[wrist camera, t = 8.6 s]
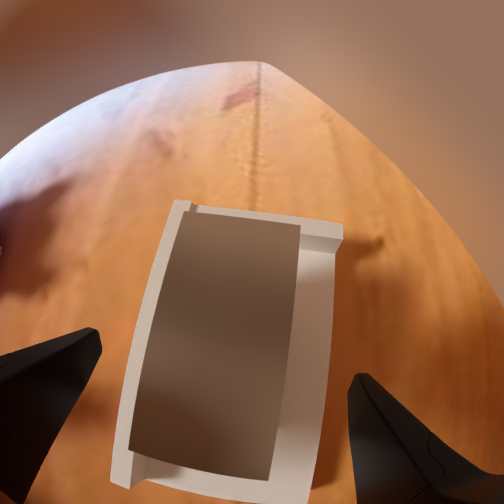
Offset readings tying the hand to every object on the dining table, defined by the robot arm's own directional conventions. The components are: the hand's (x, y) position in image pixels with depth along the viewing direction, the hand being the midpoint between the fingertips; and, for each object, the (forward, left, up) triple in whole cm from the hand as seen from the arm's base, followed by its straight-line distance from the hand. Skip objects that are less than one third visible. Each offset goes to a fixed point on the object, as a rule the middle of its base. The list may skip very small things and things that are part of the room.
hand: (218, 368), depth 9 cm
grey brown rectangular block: (+1, 0, -8) cm, 8 cm away
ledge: (+1, 0, -10) cm, 10 cm away
